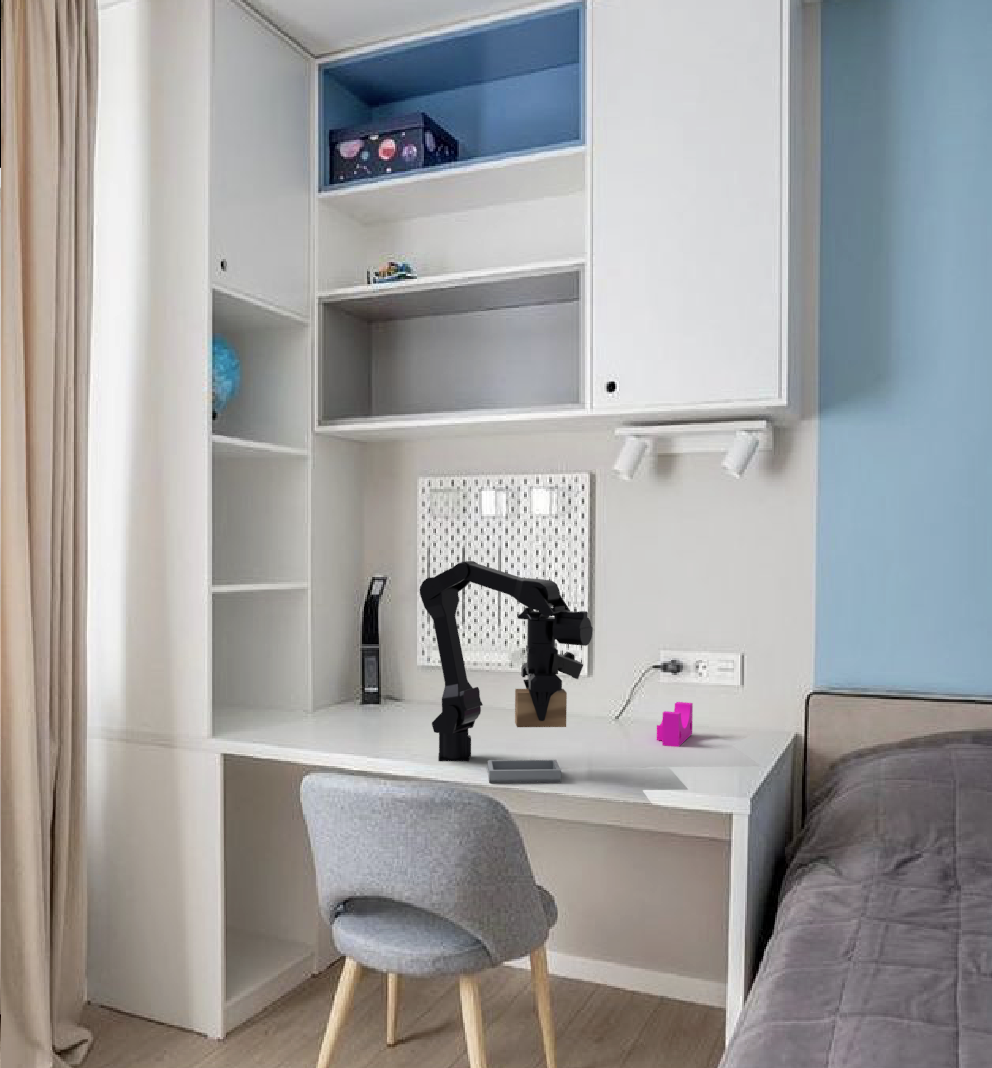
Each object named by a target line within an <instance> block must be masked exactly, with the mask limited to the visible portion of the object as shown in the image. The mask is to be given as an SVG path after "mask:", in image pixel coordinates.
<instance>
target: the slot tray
mask: <svg viewBox="0 0 992 1068" xmlns="http://www.w3.org/2000/svg"><path fill="white" fill-rule="evenodd" d="M487 775H488V783H489V784H525V783H526V784H534V783H536V784H537V783H538V784H539V783H540V784H541V783H543V784H545V783H562V769H561V768H560V765H559V762H558V761H557V759H488V760H487Z"/></svg>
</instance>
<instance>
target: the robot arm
mask: <svg viewBox="0 0 992 1068" xmlns="http://www.w3.org/2000/svg"><path fill="white" fill-rule="evenodd" d="M470 583H473V584H476V585H478V586H481V587H484V588H488V589H491V590H494V591H497V592H500V593H503V594H506V595H509V596H510V597H513V598H514V599H515V600H516V601H517V602H518V603H519V604H521V605H523V606H525V608H524V610H523V611H522V612H521V613H520V614H518V615H517V618H518V620H527V622H526V623H527V625H526V627H527V629H526V630H527V633H526V635H527V636H526V639H527V641H526V645H525V651H526V662H524V663H523V665H522V666H521V667H520V669H521V678H526V676H527V679H523V684H524V686H525V689H528V690H529V693H530V696H531V699H532V702H533V705H534V708H535V710H536V713H537V716H538V719H539V721H544V720H545V716H546V712H547V708H548V704H549V701H550V697H551V696H552V695H553V694H554V693H555V692H557V691H560V690H562V689H563V680H562V679H561V678H560V677H559V676H558V675H559V672H560V673H562V674H565V675H567V676H570V677H572V678H573V679H576V680H579V678H580V676H581V673H582V670H583V667H584V664H583V663H582V662H581V661H579V660H577V659H576V657H575V654H574V653H573V652H569V651H565V652H564V654H560V653H559V650H558V649H557V647H556V641H557V643H558V644H560V645H561V644H562V645H571V646H585V647H587V646H588V645H590V643H591V641H592V637H593V630H594V629H593V626H592V622H591V620H590V618H589V616H588V615H589V613H588V611H587V610H586V611H585V610H581V611H571V610H570V608H569V606H568V605H567V604H566V601H565V600H564V599H563V597H562V596H561V592H560V589H559V586H558V584H557V583H556V582H555V581H553V580H550V579H542V578H532V577H531V578H528V577H521V576H518V575H514V574H510V573H507V572H505V571H501V570H498V569H495V568H493V567H489V566H486V565H482V564H480V563H477V562H476V561H474V560H464V561H460V562H458V563H456V564H455V565H454V566H452V567H451V568H448V569H447V570H445V571H443V572H441V573H439V574H436V575H435V576H433V577H427V578H425V579H424V580H423V581H422V583H421V584H420V585H419V595H420V598H421V601H422V604H423V607H424V609H425V611H426V612H427V613H428V615H429V616H430V618H431V619H432V622H433V627H434V632H435V633H434V634H435V639H436V643H437V648H438V649H437V650H438V653H439V657H440V658H439V659H440V664H441V669H442V674H443V675H442V676H443V681H444V687H443V692H442V693H443V694H442V697H441V713H439V714H438V715H437V717H436V718H435V719H434V720H433V721H431V726H432V729H433V733H437V734H438V759H437V760H438V762H469V761H470V758H471V757H472V736H471V735H470V734H469V729H472V728H474V725H475V722H476V721H477V719H478V718H479V716H480V715H481V711H482V706H483V705H484V704H483V702H482V700H481V696H480V694H481V693H480V691H481V690H480V689H479V687H478V686H476V687H473V686H472V685H471V683H470V682H469V681H468V677H467V672H466V671H467V670H466V666H465V661H464V656H463V655H464V654H463V651H462V645H461V639H460V634H459V629H458V624H457V618H456V617H457V616H456V613H457V610H458V606H459V603H460V602H459V593H460V591H463V590H464V589H465V588H466V587H467V586H468V585H469V584H470Z"/></svg>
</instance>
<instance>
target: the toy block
mask: <svg viewBox="0 0 992 1068" xmlns="http://www.w3.org/2000/svg"><path fill="white" fill-rule="evenodd" d="M693 704H694V703H693V702H687V701H686V702H683V701H676V702H674V710H673V711H666V710H664V711H663V712H662V719H661V723H660V724H659V725H658V724H656V741H662V746H668V747H676V748H678V747H680V746H681V745H682V744H683V743H684V742H685V741H686V740H687V739H688V738H690V737H691V736H692V735H693V707H694V705H693Z"/></svg>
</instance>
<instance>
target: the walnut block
mask: <svg viewBox="0 0 992 1068" xmlns="http://www.w3.org/2000/svg"><path fill="white" fill-rule="evenodd" d="M514 695H515V696H514V700H515V701H514V723H515V726H516V728H567V699H568V697H567V691H566V690H565V689H564V688H562V690H560V691H557V692H555V693H554V694H553V695H552V696H551V697H550V701H549V704H548V708H547V712H546V716H545V720H544V721H539V719H538V716H537V713H536V710H535V708H534V705H533V702H532V699H531V696H530V693H529V690H528V689H526V688H515V690H514Z"/></svg>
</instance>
